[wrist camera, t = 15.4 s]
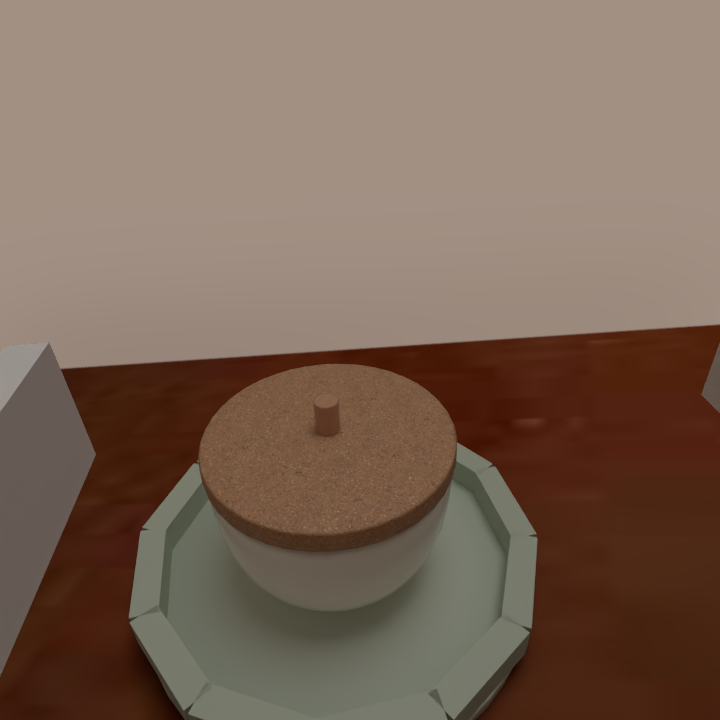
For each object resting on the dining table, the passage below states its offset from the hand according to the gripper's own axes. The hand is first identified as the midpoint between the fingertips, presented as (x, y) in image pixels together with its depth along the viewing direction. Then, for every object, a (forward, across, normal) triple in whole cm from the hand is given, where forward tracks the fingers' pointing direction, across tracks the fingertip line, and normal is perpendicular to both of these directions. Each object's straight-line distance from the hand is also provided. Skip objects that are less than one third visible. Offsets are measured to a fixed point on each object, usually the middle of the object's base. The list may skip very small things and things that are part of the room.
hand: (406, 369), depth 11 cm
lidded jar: (+9, -2, -17) cm, 19 cm away
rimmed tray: (+9, -2, -18) cm, 20 cm away
